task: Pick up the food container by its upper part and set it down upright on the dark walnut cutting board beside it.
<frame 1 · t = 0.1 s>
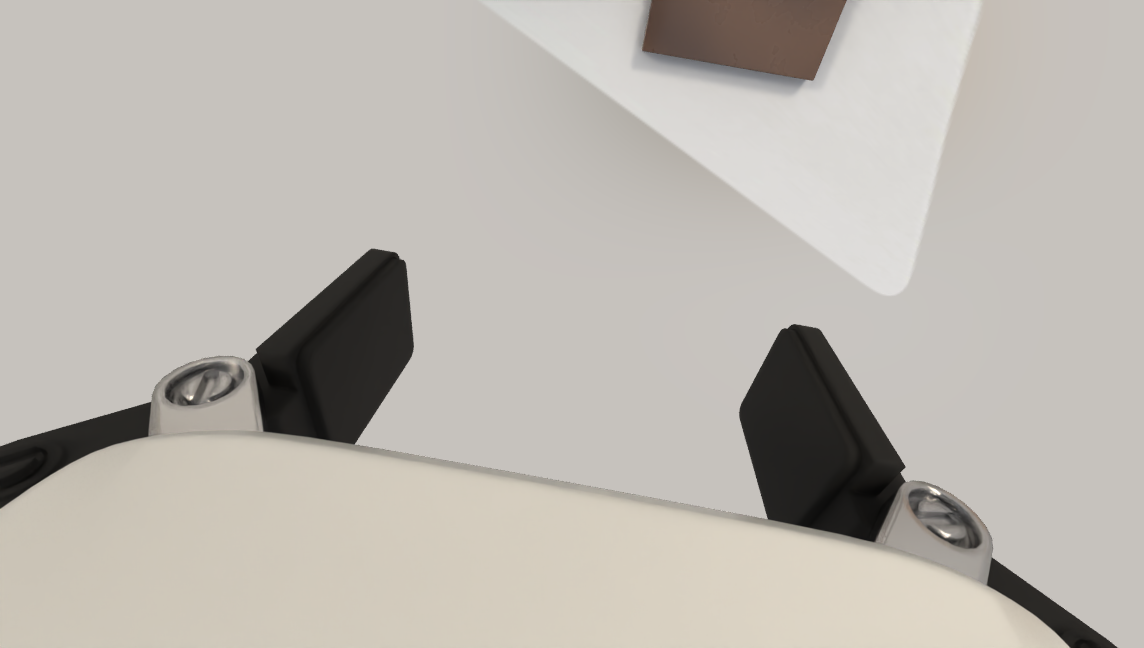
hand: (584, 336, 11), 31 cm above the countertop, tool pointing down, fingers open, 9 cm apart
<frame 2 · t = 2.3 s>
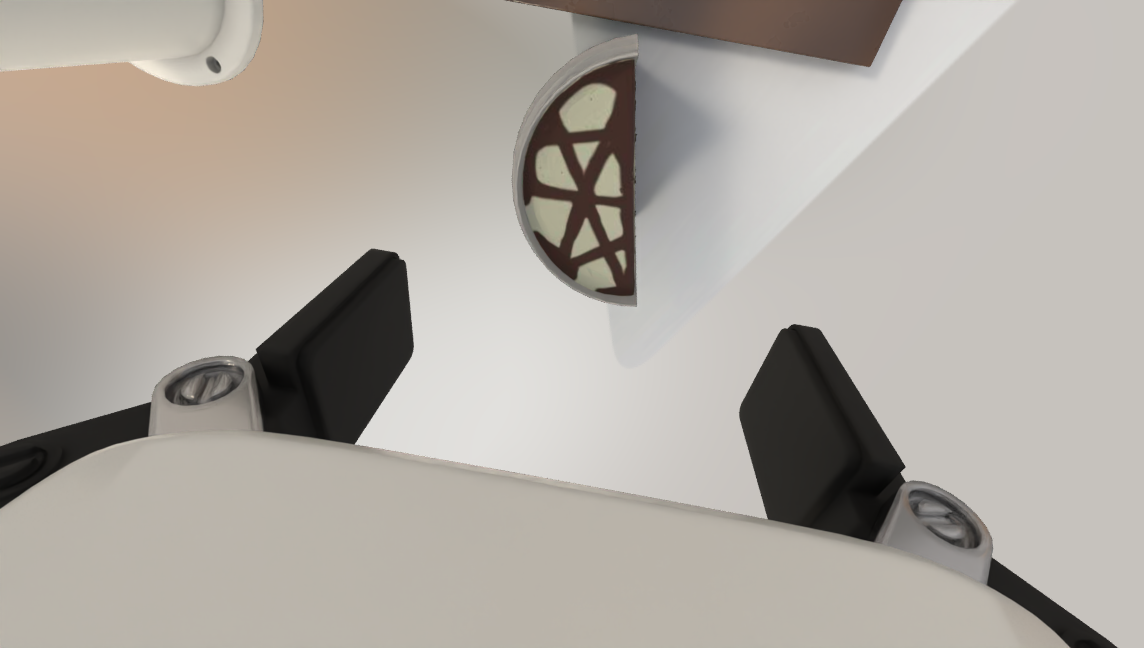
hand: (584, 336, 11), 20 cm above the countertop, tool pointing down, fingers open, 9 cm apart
food container: (587, 149, 28), on the countertop
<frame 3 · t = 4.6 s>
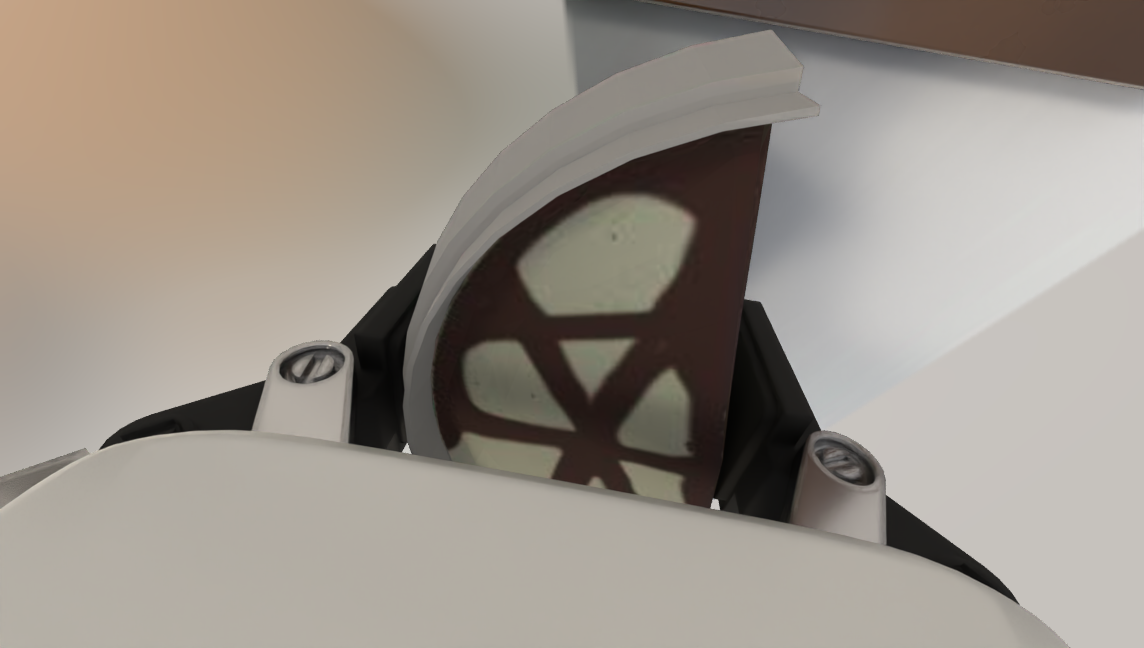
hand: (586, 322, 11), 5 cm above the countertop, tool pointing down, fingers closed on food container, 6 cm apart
food container: (594, 237, 16), on the countertop, touching gripper
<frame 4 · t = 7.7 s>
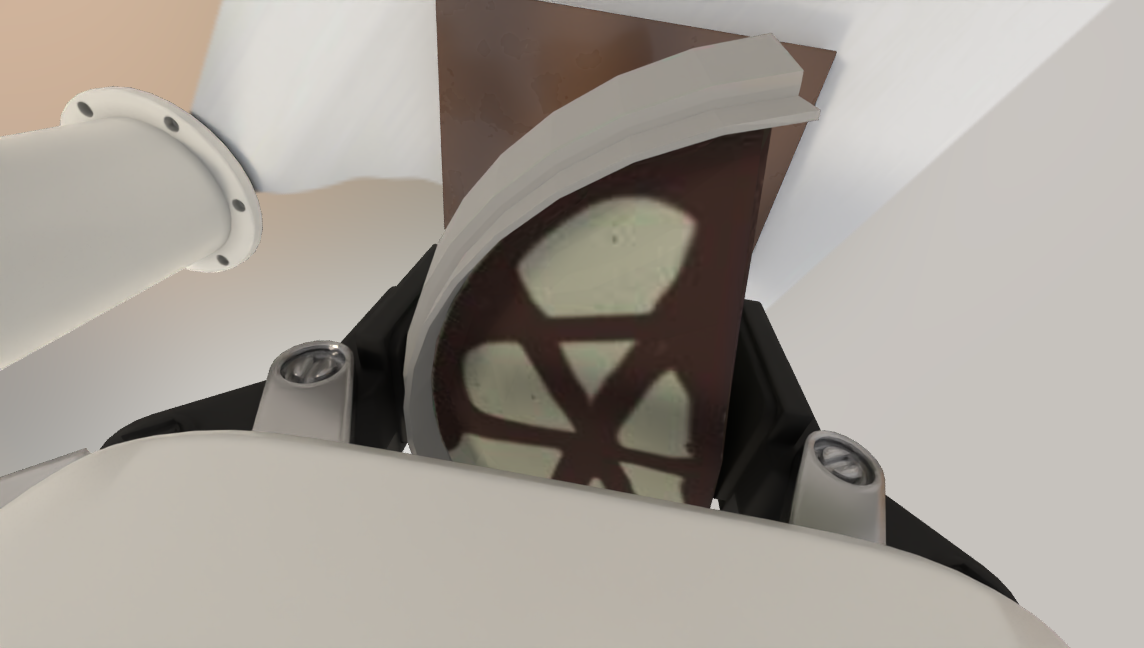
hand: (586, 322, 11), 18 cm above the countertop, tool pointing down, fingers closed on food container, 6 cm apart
cutting board: (611, 148, 26), on the countertop
food container: (594, 238, 16), point 13 cm above the countertop, touching gripper
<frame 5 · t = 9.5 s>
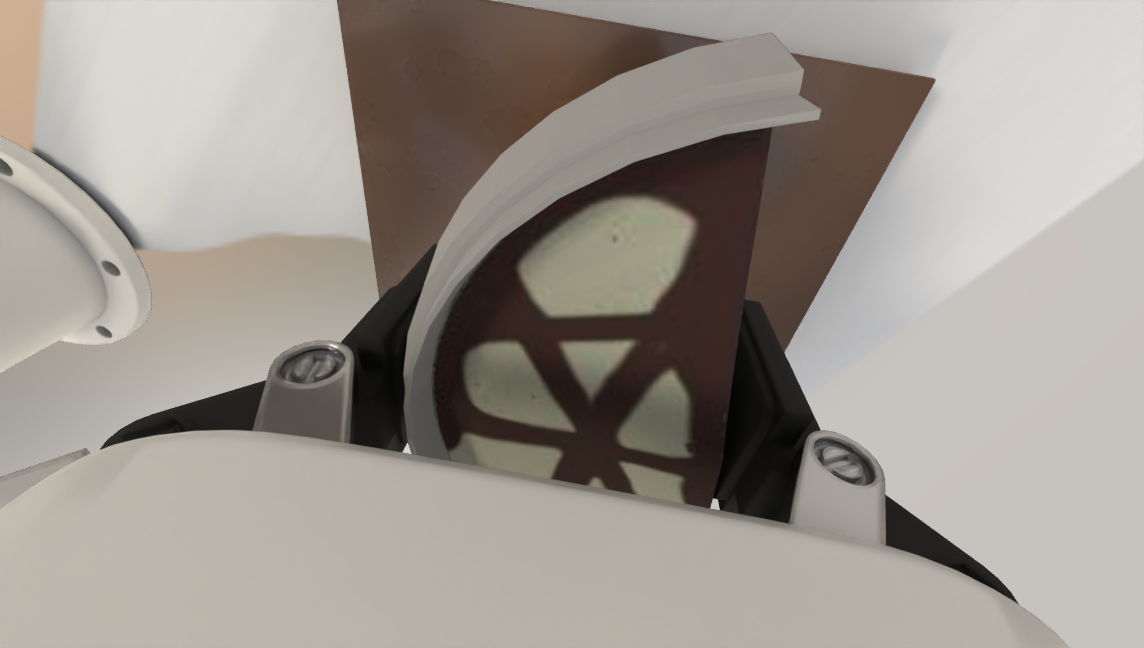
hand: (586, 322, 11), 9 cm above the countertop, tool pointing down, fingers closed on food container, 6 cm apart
cutting board: (600, 203, 19), on the countertop
food container: (594, 238, 16), point 4 cm above the countertop, touching gripper
when the fingers open (7 cm above the countertop, at t = 10.8 s): food container stays where it is, resting on cutting board.
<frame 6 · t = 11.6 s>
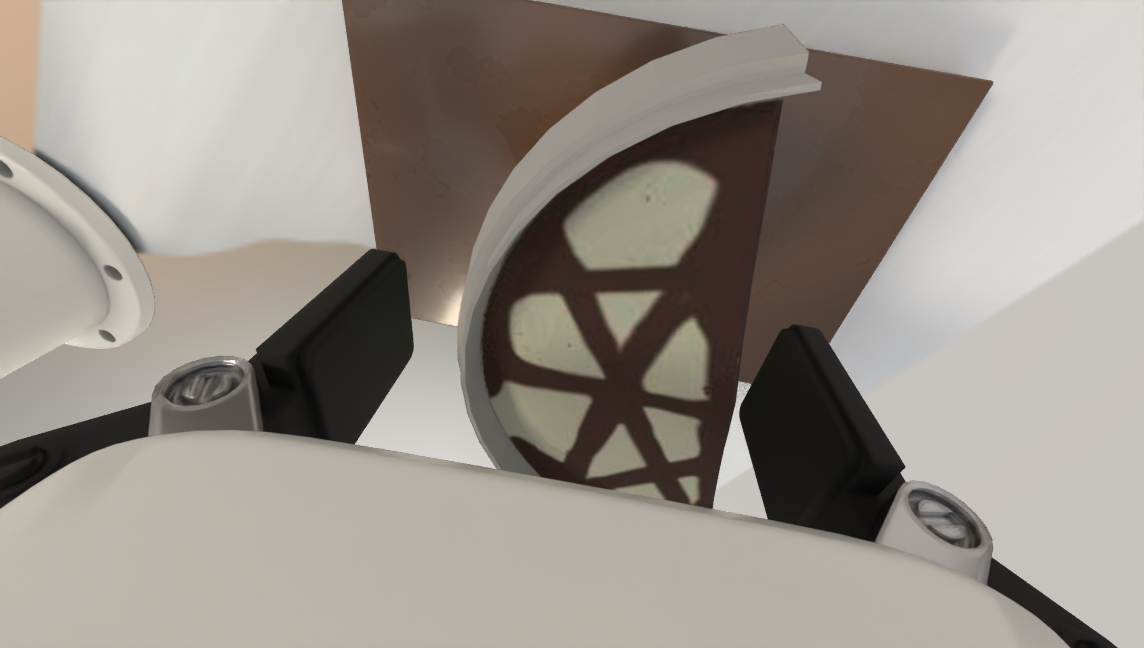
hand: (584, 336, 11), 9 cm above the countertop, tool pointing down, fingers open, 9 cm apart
cutting board: (618, 211, 18), on the countertop
food container: (613, 222, 17), point 1 cm above the countertop, touching cutting board
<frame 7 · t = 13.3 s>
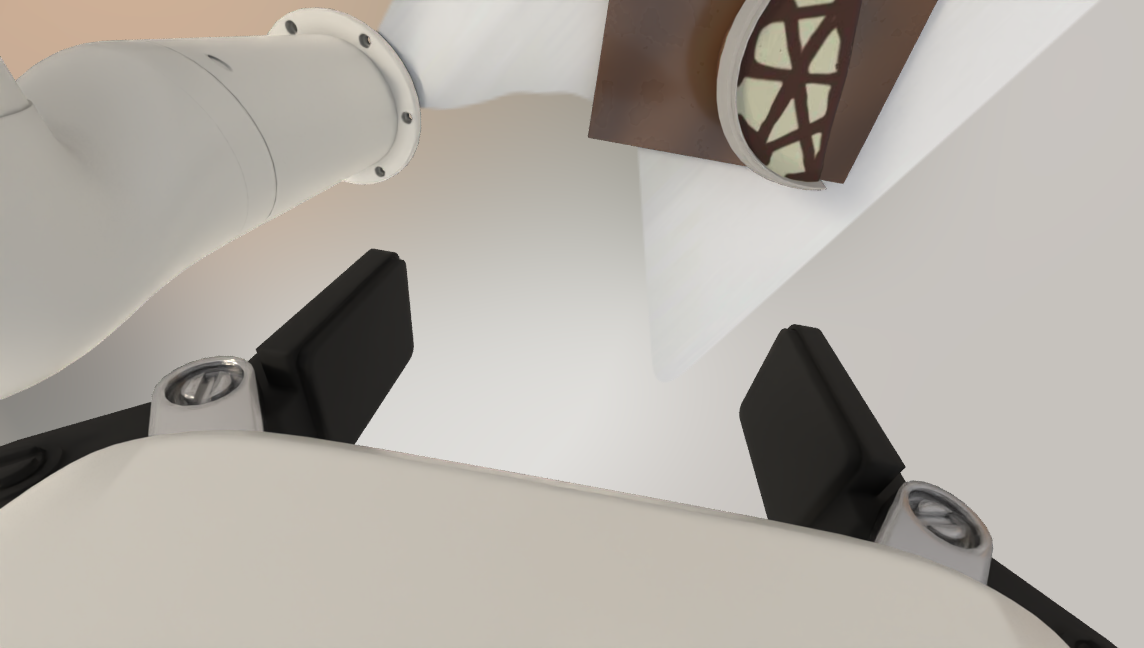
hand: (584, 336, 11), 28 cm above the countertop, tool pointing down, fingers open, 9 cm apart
cutting board: (742, 62, 31), on the countertop
food container: (744, 62, 30), point 1 cm above the countertop, touching cutting board
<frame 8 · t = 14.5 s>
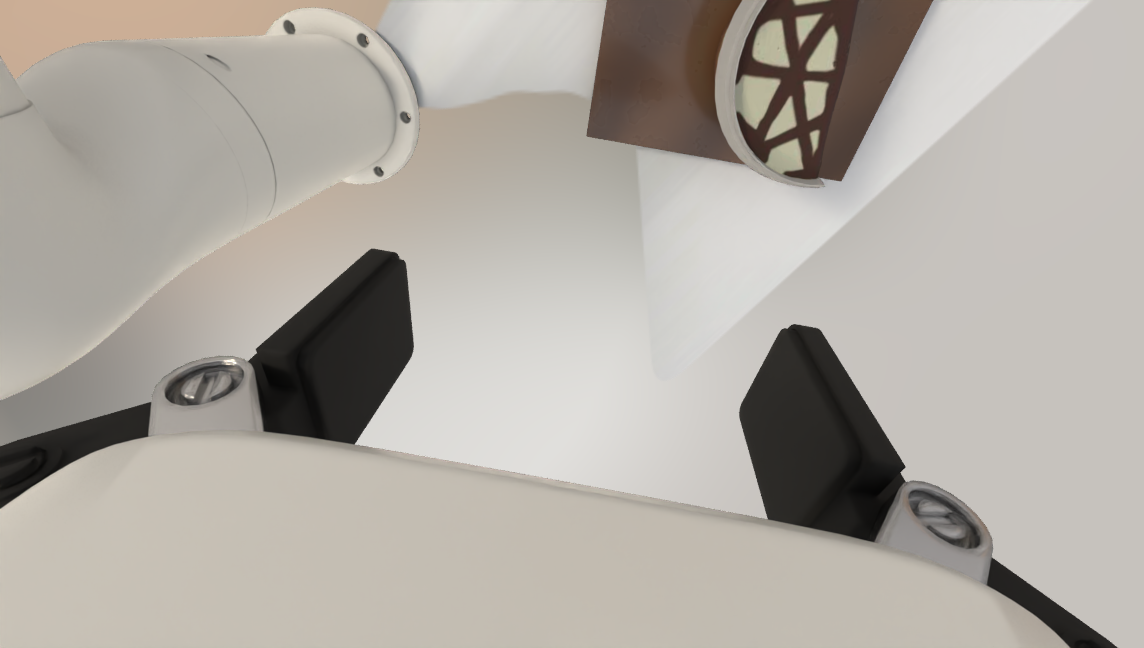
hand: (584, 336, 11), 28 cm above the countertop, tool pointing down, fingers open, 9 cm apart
cutting board: (740, 60, 31), on the countertop
food container: (742, 61, 30), point 1 cm above the countertop, touching cutting board
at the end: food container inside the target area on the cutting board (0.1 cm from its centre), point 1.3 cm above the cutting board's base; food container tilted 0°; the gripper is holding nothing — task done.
